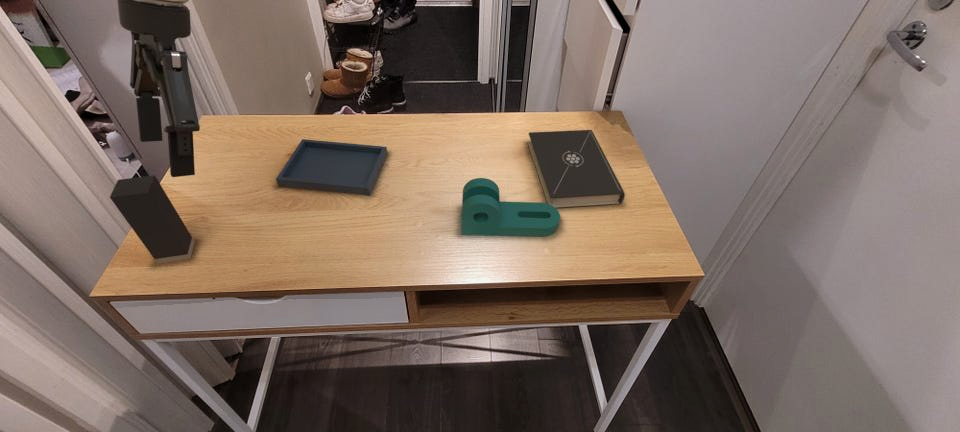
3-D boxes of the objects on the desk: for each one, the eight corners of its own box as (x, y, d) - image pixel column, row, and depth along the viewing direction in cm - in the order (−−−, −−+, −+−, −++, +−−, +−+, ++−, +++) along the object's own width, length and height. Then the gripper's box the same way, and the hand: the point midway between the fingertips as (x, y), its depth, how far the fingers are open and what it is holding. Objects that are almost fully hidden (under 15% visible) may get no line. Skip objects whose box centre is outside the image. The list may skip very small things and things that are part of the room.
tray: (278, 186, 91) (275, 179, 89) (304, 146, 100) (302, 138, 99) (370, 195, 90) (369, 187, 88) (387, 154, 99) (386, 146, 98)
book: (622, 204, 90) (626, 193, 88) (548, 209, 88) (551, 197, 86) (590, 140, 105) (593, 129, 103) (527, 143, 104) (528, 132, 102)
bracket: (461, 234, 83) (461, 203, 77) (462, 209, 88) (462, 177, 82) (560, 237, 83) (567, 205, 78) (556, 211, 88) (562, 180, 83)
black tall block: (195, 241, 80) (155, 175, 69) (190, 259, 77) (148, 192, 66) (163, 246, 79) (117, 179, 68) (157, 264, 76) (109, 197, 65)
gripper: (226, 24, 54) (228, 188, 63) (157, -12, 67) (167, 127, 76) (150, 15, 48) (164, 196, 57) (92, -22, 62) (111, 129, 71)
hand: (166, 157), depth 67 cm, fingers open, 13 cm apart
